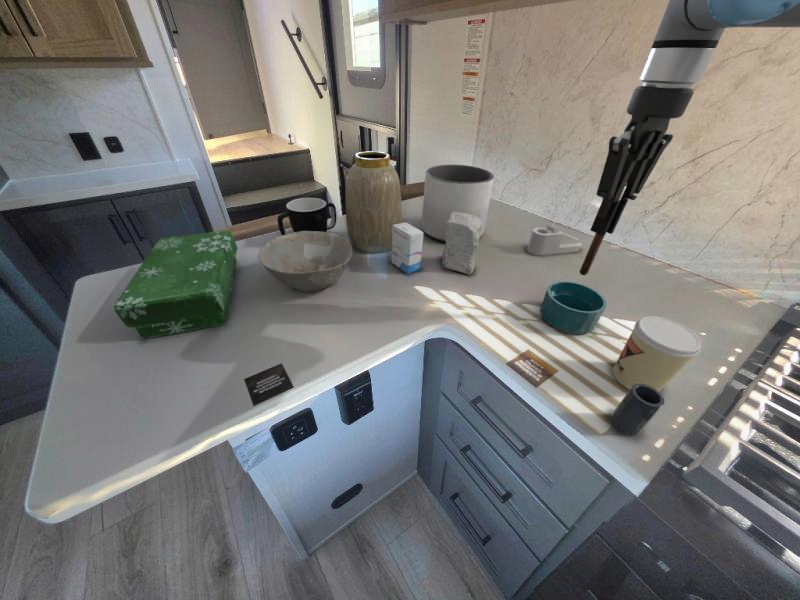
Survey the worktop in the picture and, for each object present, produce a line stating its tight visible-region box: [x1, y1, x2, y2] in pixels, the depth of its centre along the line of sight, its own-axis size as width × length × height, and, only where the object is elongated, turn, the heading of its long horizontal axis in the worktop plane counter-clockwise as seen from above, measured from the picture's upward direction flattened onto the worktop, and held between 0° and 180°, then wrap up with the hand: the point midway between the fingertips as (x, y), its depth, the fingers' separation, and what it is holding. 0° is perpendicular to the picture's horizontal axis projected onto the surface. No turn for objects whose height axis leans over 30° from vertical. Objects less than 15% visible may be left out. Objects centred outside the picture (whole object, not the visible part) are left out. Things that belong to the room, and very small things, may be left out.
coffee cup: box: [613, 315, 702, 393], centre depth 57 cm, size 9×9×12 cm
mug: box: [277, 197, 337, 236], centre depth 101 cm, size 16×16×12 cm
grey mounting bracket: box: [526, 223, 582, 256], centre depth 101 cm, size 6×18×8 cm, turn 103°
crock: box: [609, 384, 665, 437], centre depth 50 cm, size 4×4×8 cm
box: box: [113, 230, 238, 339], centre depth 76 cm, size 32×18×10 cm, turn 17°
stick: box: [579, 182, 627, 276], centre depth 61 cm, size 2×2×20 cm
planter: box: [421, 164, 495, 243], centre depth 107 cm, size 22×22×20 cm
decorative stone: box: [441, 211, 483, 276], centre depth 89 cm, size 10×9×15 cm
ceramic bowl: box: [257, 231, 353, 293], centre depth 81 cm, size 22×23×10 cm
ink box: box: [391, 222, 424, 275], centre depth 89 cm, size 9×5×12 cm, turn 36°
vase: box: [344, 151, 402, 254], centre depth 96 cm, size 17×17×27 cm
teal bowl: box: [539, 280, 607, 335], centre depth 73 cm, size 12×12×6 cm
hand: (601, 231), depth 61 cm, fingers closed on stick, 1 cm apart
